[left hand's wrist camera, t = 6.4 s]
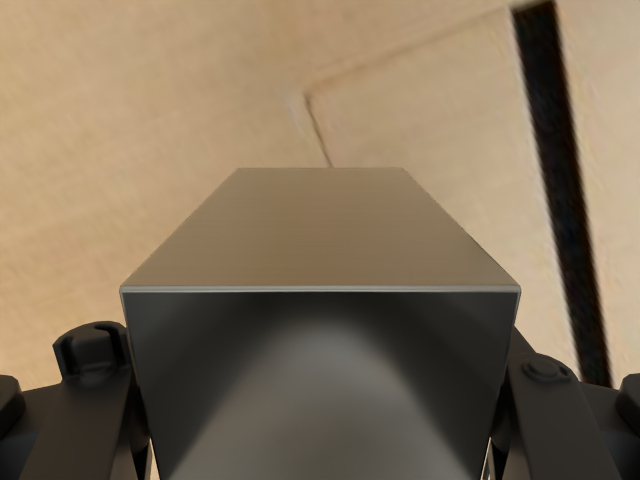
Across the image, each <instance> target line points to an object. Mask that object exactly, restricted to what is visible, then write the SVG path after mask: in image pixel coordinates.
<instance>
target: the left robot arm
mask: <svg viewBox="0 0 640 480" xmlns="http://www.w3.org/2000/svg"><path fill="white" fill-rule="evenodd" d="M52 346H53V349H54V352H55V356H56V359H57V362H58V366H59V369H60V372H61V375H62V381H61V383H59V384H56V385H51V386H47V387H42V388H37V389H33V390H28V391H23V392H22V391H21V388H20V385H19V382H18V380H17V379H15V378H14V377H12V376H7V375H0V480H150V474H151V464H152V450H151V445H150V438H151V436H150V432H149V427H148V423H147V418H146V413H145V409H144V404H143V399H142V395H141V390H140V386H139V381H138V376H137V372H136V367H135V362H134V358H133V353H132V349H131V344H130V339H129V335H128V330H127V327H126V328H125V327H124V326H123V325H121V324H120V323H117V322H112V321H98V322H93V323H89V324H85V325H82V326H79V327H77V328H74V329H72V330H70V331H68V332H67V333H65V334H64V335H62V336H60V337H59V338H58V339H57V340H56V342H55V343H54V344H53V345H52ZM490 437H491V440H490V445H489V449H488V454H487V458H486V463H485V467H484V472H483V478H482V479H483V480H488V477H489V473H490V480H640V373H637V374H629V375H628V376H626V377H625V378H624V379H623V381H622V384H621V386H620V389H619V390H616V389H611V388H606V387H601V386H597V385H592V384H587V383H584V382H580V381H579V380H578V378H577V377H576V375H575V374H574V373H573V371H572V370H571V369H570V368H568V367H567V366H566V365H564V364H563V363H562V362H560V361H558V360H556V359H554V358H552V357H549V356H546V355H543V354H539V353H536V352H535V351H534V350H533V348H532V347H531V346H530V345H529V343H528V342H527V341H526V340H525V338H524V337H523V336H522V335H521V333H520V332H519V331H518V330H517V328H516V327H515V326H514V328H513V333H512V337H511V342H510V346H509V351H508V356H507V360H506V365H505V369H504V374H503V379H502V383H501V388H500V392H499V397H498V402H497V406H496V411H495V415H494V420H493V425H492V429H491V434H490Z"/></svg>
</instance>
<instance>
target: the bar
mask: <svg viewBox="0 0 640 480" xmlns="http://www.w3.org/2000/svg"><path fill="white" fill-rule="evenodd" d="M119 293H120V298H121V302H122V307H123V312H124V316H125V321H126V326H127V330H128V335H129V339H130V344H131V349H132V353H133V358H134V362H135V367H136V372H137V376H138V381H139V386H140V390H141V395H142V399H143V404H144V409H145V413H146V418H147V423H148V427H149V432H150V436H151V441H152V446H153V450H154V455H155V459H156V464H157V469H158V473H159V478H160V480H481V475H482V471H483V466H484V461H485V457H486V452H487V448H488V443H489V438H490V434H491V429H492V425H493V420H494V415H495V411H496V406H497V402H498V397H499V392H500V388H501V383H502V379H503V374H504V369H505V365H506V360H507V356H508V351H509V346H510V342H511V337H512V333H513V328H514V323H515V319H516V314H517V310H518V305H519V300H520V296H521V287H520V285H519V284H518V283H517V282H516V281H515V280H514V279H513V278H512V277H511V276H510V275H509V274H508V273H507V272H506V271H505V270H504V269H503V268H502V267H501V266H500V265H499V264H498V263H497V262H496V261H495V260H494V259H493V258H492V257H491V256H490V255H489V254H488V253H487V252H486V251H485V250H484V249H483V248H482V247H481V246H480V245H479V244H478V243H477V242H476V241H475V240H474V239H473V238H472V237H471V236H470V235H469V234H468V233H467V232H466V231H465V230H464V229H463V228H462V227H461V226H460V225H459V224H458V223H457V222H456V221H455V220H454V219H453V218H452V217H451V216H450V215H449V214H448V213H447V212H446V211H445V210H444V209H443V208H442V207H441V206H440V205H439V204H438V203H437V202H436V201H435V200H434V199H433V198H432V197H431V196H430V195H429V194H428V193H427V192H426V191H425V190H424V189H423V188H422V187H421V186H420V185H419V184H418V183H417V182H416V181H415V180H414V179H413V178H412V177H411V176H410V175H409V174H408V173H407V172H406V171H405V170H404V169H403V168H237V169H236V170H235V171H234V172H233V173H232V174H231V175H230V176H229V177H228V178H227V179H226V180H225V181H224V182H223V183H222V184H221V185H220V186H219V187H218V188H217V189H216V190H215V191H214V192H213V193H212V194H211V195H210V196H209V197H208V198H207V199H206V200H205V201H204V202H203V203H202V204H201V205H200V206H199V207H198V208H197V209H196V210H195V211H194V212H193V213H192V214H191V215H190V216H189V217H188V218H187V219H186V220H185V221H184V222H183V223H182V224H181V225H180V226H179V227H178V228H177V229H176V230H175V231H174V232H173V233H172V234H171V235H170V236H169V237H168V238H167V239H166V240H165V241H164V242H163V243H162V244H161V245H160V247H159V248H158V249H157V250H156V251H155V252H154V253H153V254H152V255H151V256H150V257H149V258H148V259H147V260H146V261H145V262H144V263H143V264H142V265H141V266H140V267H139V268H138V269H137V270H136V271H135V272H134V273H133V274H132V275H131V276H130V277H129V278H128V279H127V280H126V281H125V282H124V283H123V284H122V285H121V286H120V290H119Z"/></svg>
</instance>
